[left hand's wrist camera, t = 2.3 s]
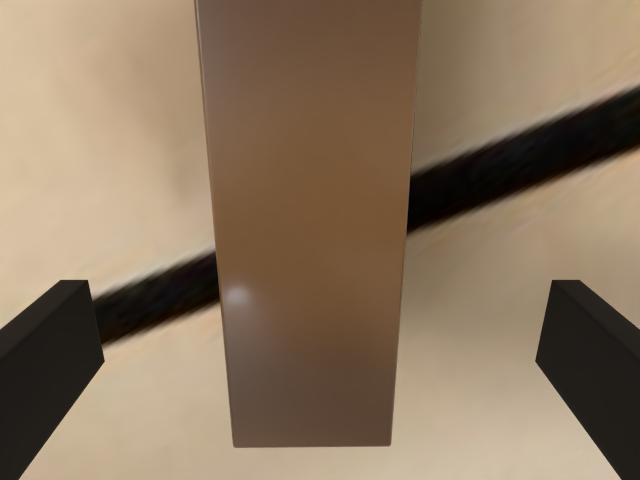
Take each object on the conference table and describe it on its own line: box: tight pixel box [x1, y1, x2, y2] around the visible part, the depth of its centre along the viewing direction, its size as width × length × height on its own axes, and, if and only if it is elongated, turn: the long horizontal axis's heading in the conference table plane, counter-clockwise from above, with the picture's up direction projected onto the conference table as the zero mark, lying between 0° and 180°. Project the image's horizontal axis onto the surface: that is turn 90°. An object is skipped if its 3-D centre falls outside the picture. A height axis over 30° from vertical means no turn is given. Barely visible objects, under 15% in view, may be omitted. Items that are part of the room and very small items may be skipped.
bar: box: [194, 0, 423, 448], centre depth 13 cm, size 24×5×8 cm, turn 0°
